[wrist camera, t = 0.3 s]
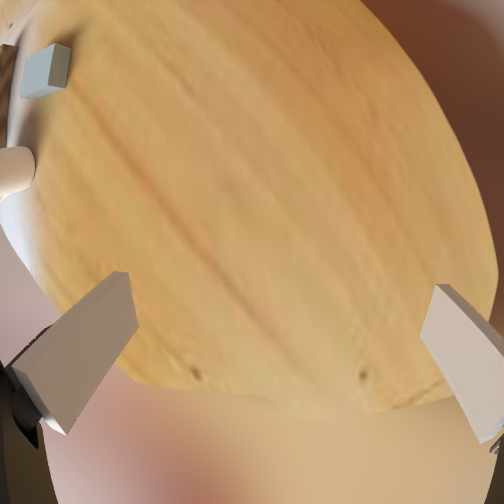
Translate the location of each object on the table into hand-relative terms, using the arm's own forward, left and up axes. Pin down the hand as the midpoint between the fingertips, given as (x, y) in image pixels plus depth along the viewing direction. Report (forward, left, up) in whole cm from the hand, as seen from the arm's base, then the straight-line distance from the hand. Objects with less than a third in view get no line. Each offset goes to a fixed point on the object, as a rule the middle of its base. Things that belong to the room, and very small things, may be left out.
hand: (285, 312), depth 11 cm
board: (-24, -55, -28) cm, 66 cm away
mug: (-6, -48, -28) cm, 56 cm away
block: (-24, -39, -28) cm, 54 cm away
